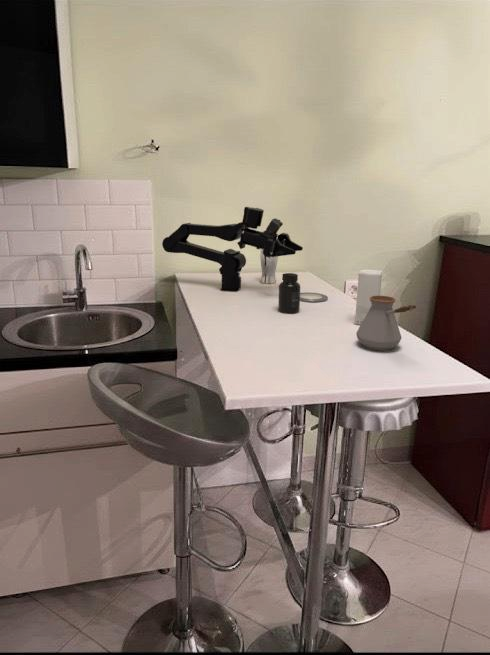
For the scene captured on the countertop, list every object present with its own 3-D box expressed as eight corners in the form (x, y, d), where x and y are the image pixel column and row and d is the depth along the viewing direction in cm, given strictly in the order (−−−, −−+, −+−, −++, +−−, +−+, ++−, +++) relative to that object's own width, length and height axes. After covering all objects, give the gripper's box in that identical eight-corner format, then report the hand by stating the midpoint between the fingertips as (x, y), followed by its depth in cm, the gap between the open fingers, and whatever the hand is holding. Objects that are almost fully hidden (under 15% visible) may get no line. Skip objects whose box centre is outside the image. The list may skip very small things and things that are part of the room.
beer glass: (257, 280, 206) (258, 243, 202) (273, 280, 208) (274, 243, 204) (262, 284, 200) (264, 246, 196) (279, 284, 202) (281, 245, 198)
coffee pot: (348, 339, 139) (353, 285, 134) (387, 337, 141) (393, 284, 137) (385, 369, 119) (393, 307, 115) (430, 366, 122) (439, 305, 117)
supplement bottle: (297, 308, 168) (299, 272, 165) (300, 314, 162) (302, 276, 158) (276, 308, 168) (278, 272, 164) (278, 313, 161) (280, 276, 158)
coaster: (292, 301, 177) (292, 299, 177) (295, 293, 188) (295, 291, 188) (327, 303, 175) (327, 301, 175) (328, 295, 186) (328, 293, 186)
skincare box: (375, 327, 151) (381, 274, 146) (352, 324, 153) (357, 272, 148) (378, 319, 158) (383, 269, 153) (356, 317, 160) (361, 267, 155)
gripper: (253, 219, 171) (297, 230, 167) (270, 214, 187) (311, 225, 183) (246, 251, 175) (289, 263, 171) (264, 244, 191) (303, 255, 187)
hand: (299, 250), depth 178 cm, fingers open, 9 cm apart
